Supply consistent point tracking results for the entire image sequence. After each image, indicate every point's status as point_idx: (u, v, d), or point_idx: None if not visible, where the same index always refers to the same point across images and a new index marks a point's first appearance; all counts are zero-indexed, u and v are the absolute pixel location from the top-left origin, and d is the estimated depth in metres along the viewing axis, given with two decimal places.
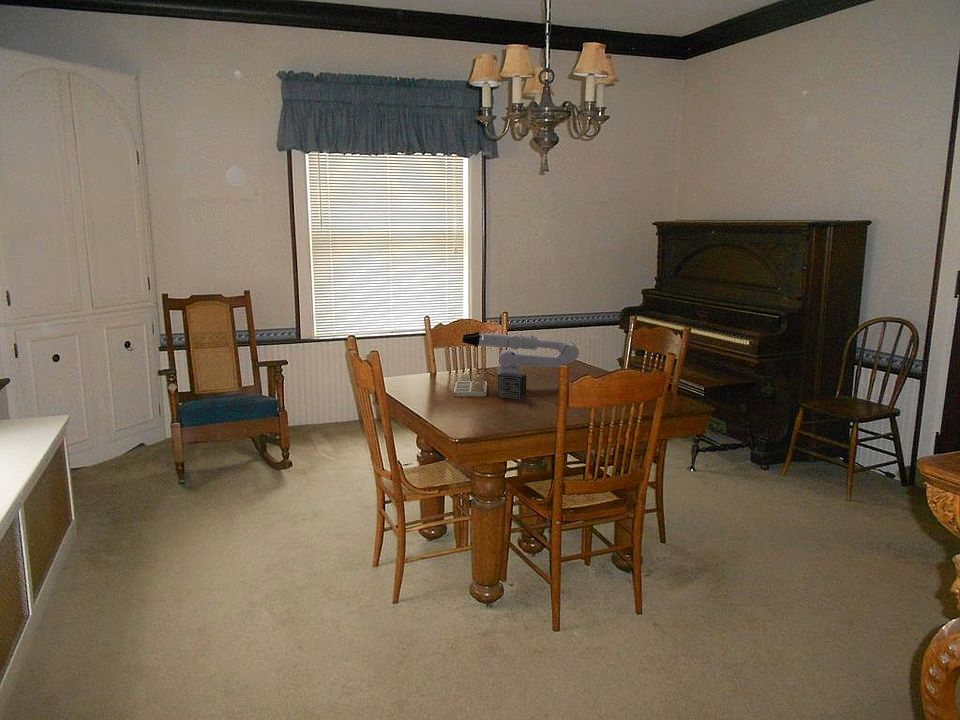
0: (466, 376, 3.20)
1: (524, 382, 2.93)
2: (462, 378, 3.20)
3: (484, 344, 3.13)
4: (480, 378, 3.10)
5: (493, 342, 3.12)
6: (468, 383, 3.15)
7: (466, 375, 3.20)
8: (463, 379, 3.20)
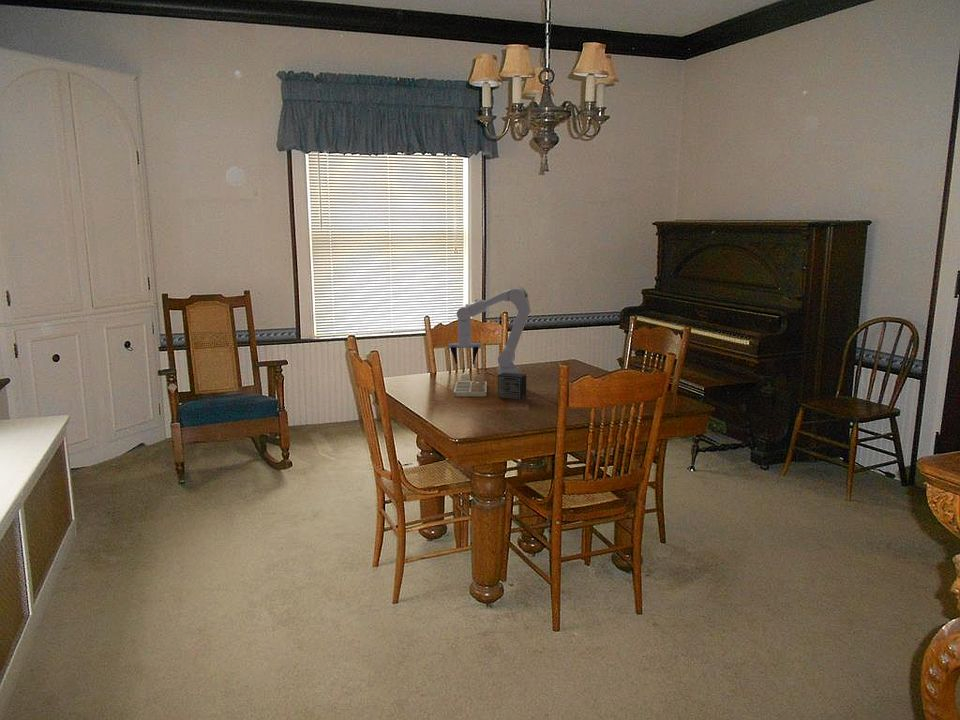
0: (466, 376, 3.20)
1: (524, 382, 2.93)
2: (462, 378, 3.20)
3: (459, 343, 3.17)
4: (480, 378, 3.10)
5: (458, 334, 3.18)
6: (468, 383, 3.15)
7: (466, 375, 3.20)
8: (463, 379, 3.20)
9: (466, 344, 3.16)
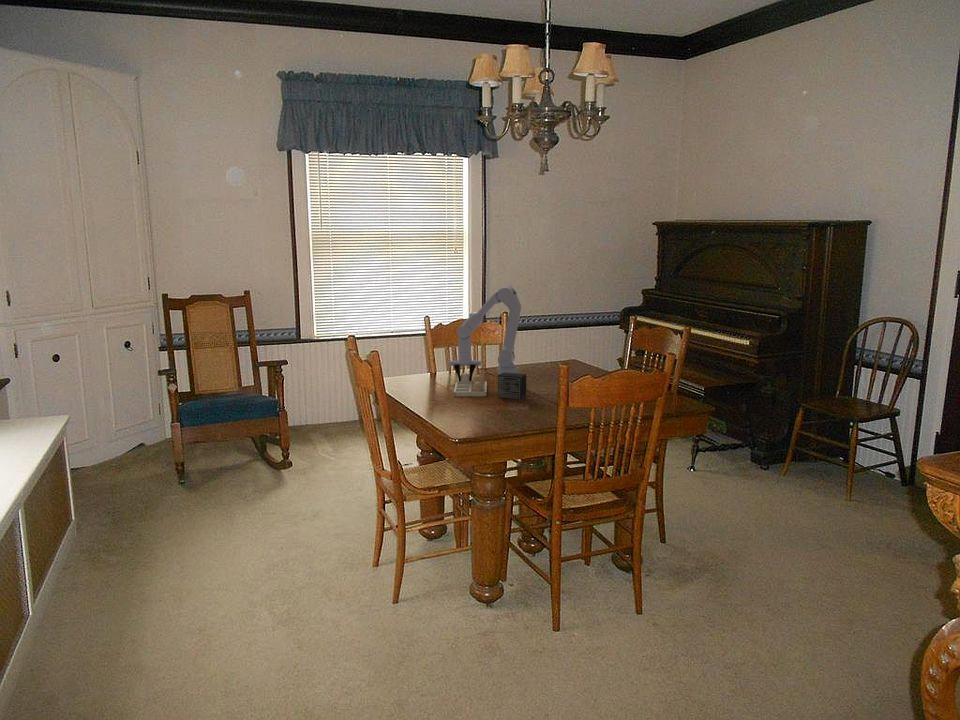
0: (466, 376, 3.20)
1: (524, 382, 2.93)
2: (462, 378, 3.20)
3: (459, 361, 3.19)
4: (480, 378, 3.10)
5: (458, 352, 3.19)
6: (468, 383, 3.15)
7: (466, 375, 3.20)
8: (463, 379, 3.20)
9: (466, 362, 3.18)
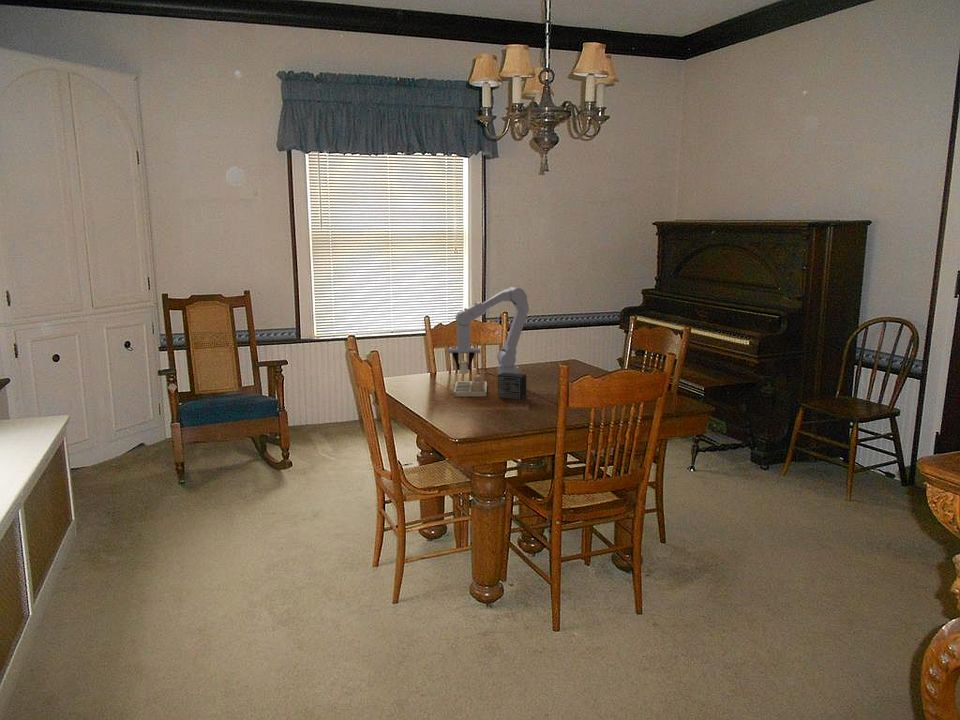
0: (465, 364, 3.11)
1: (524, 382, 2.93)
2: (461, 366, 3.11)
3: (458, 348, 3.10)
4: (480, 378, 3.10)
5: (457, 339, 3.10)
6: (468, 383, 3.15)
7: (465, 363, 3.11)
8: (462, 367, 3.11)
9: (465, 349, 3.09)
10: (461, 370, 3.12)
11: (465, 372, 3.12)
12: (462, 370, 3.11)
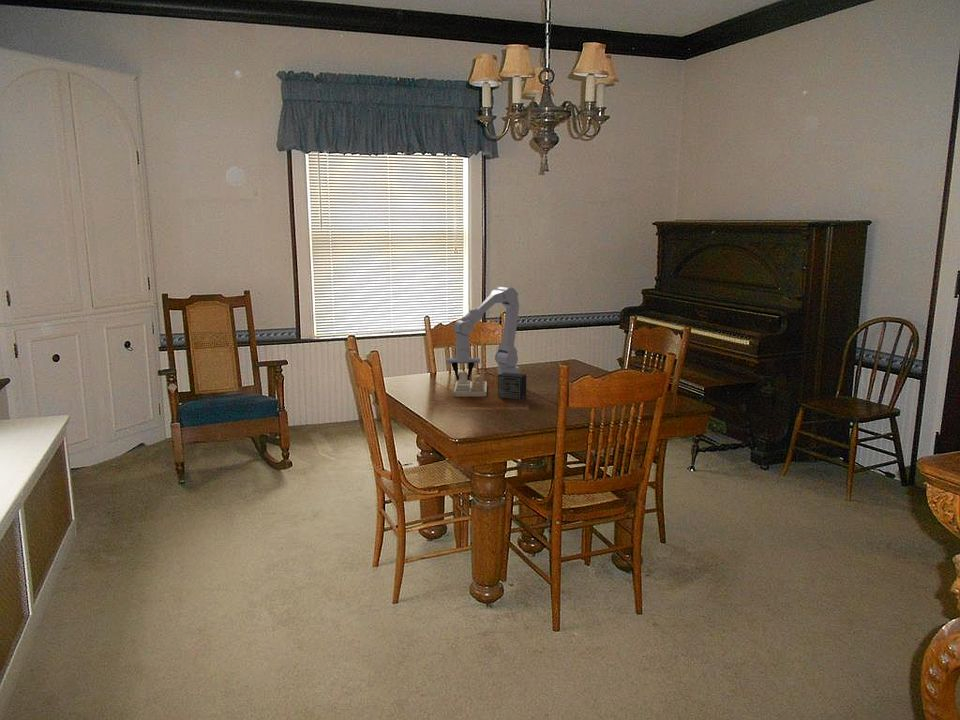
0: (464, 374, 3.04)
1: (524, 382, 2.93)
2: (460, 377, 3.04)
3: (457, 358, 3.02)
4: (480, 378, 3.10)
5: (456, 349, 3.02)
6: (468, 383, 3.15)
7: (464, 373, 3.04)
8: (462, 377, 3.03)
9: (465, 359, 3.01)
10: (460, 381, 3.04)
11: (465, 383, 3.04)
12: (462, 380, 3.04)
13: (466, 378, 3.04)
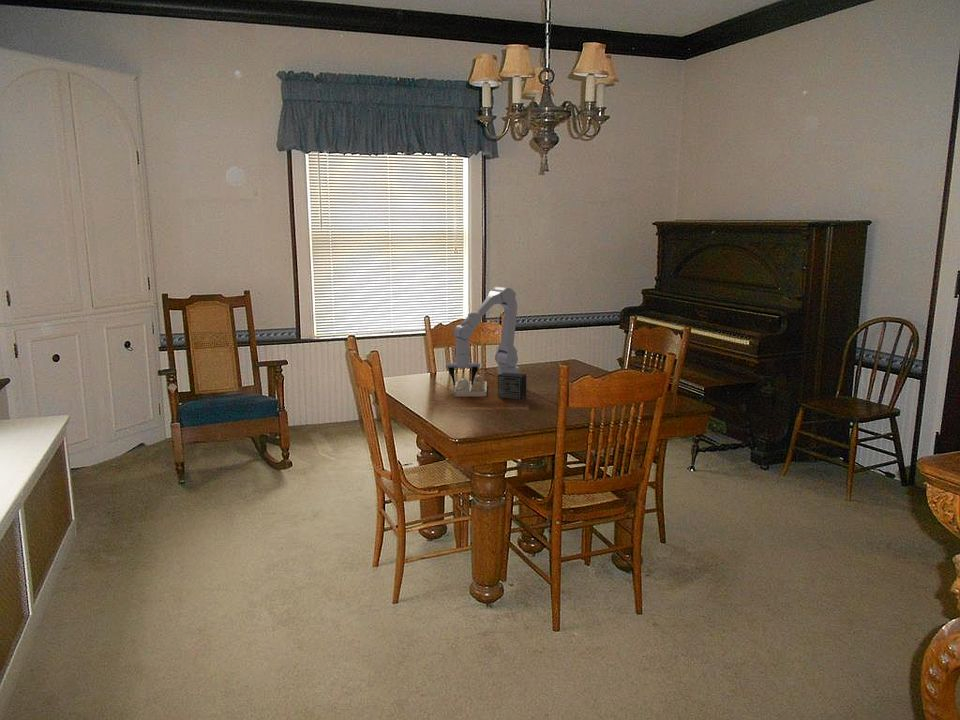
0: (465, 382, 3.04)
1: (524, 382, 2.93)
2: (460, 384, 3.04)
3: (457, 363, 3.02)
4: (480, 378, 3.10)
5: (456, 353, 3.03)
6: (468, 383, 3.15)
7: (465, 381, 3.04)
8: (462, 385, 3.04)
9: (465, 364, 3.02)
10: None
11: None
12: None
13: (466, 385, 3.05)
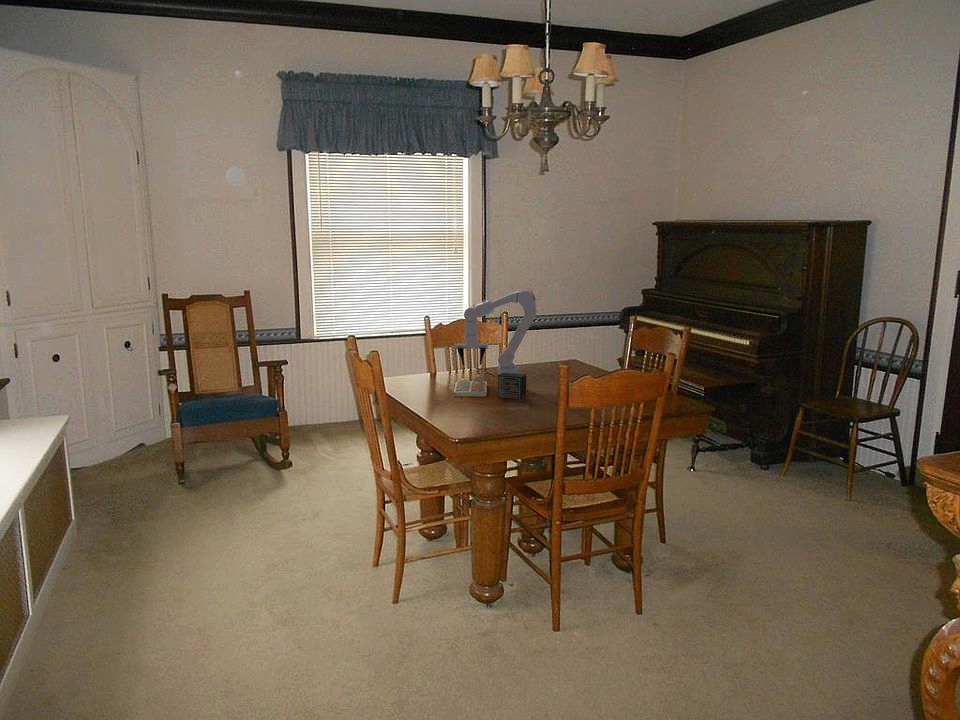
0: (465, 382, 3.04)
1: (524, 382, 2.93)
2: (460, 384, 3.04)
3: (466, 343, 3.16)
4: (480, 378, 3.10)
5: (465, 334, 3.16)
6: (468, 383, 3.15)
7: (465, 381, 3.04)
8: (462, 385, 3.04)
9: (473, 345, 3.15)
10: None
11: None
12: None
13: (466, 385, 3.05)
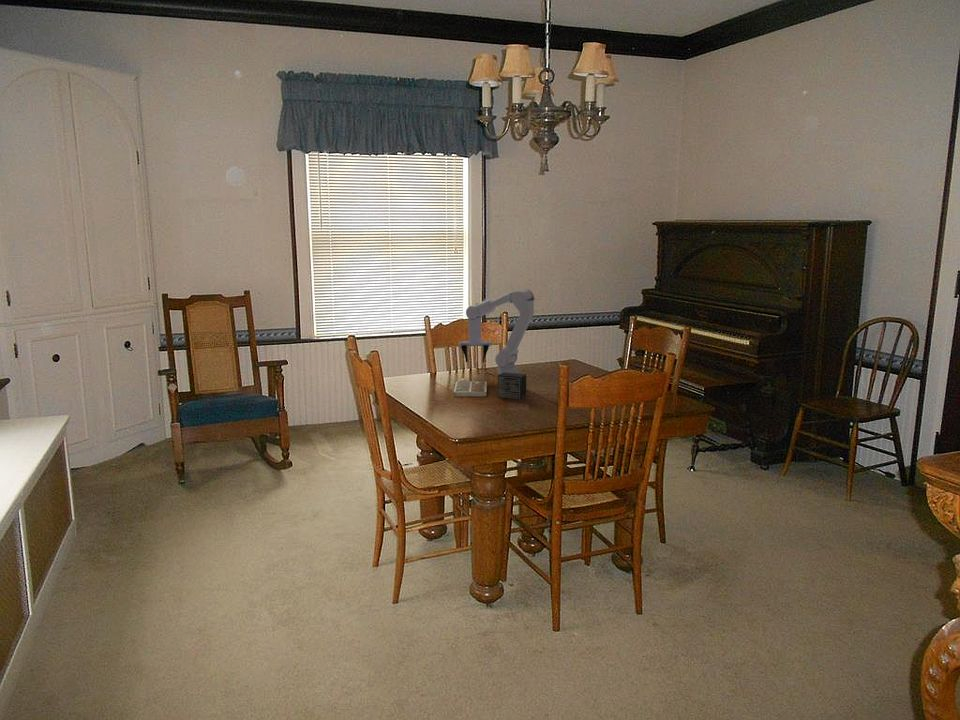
0: (465, 382, 3.04)
1: (524, 382, 2.93)
2: (460, 384, 3.04)
3: (470, 341, 3.21)
4: (480, 378, 3.10)
5: None
6: (468, 383, 3.15)
7: (465, 381, 3.04)
8: (462, 385, 3.04)
9: (476, 342, 3.20)
10: None
11: None
12: None
13: (466, 385, 3.05)
